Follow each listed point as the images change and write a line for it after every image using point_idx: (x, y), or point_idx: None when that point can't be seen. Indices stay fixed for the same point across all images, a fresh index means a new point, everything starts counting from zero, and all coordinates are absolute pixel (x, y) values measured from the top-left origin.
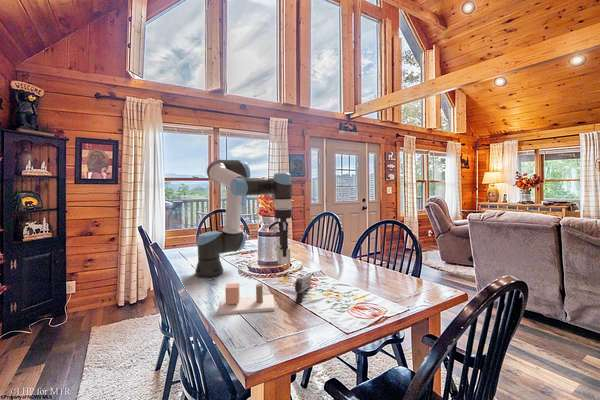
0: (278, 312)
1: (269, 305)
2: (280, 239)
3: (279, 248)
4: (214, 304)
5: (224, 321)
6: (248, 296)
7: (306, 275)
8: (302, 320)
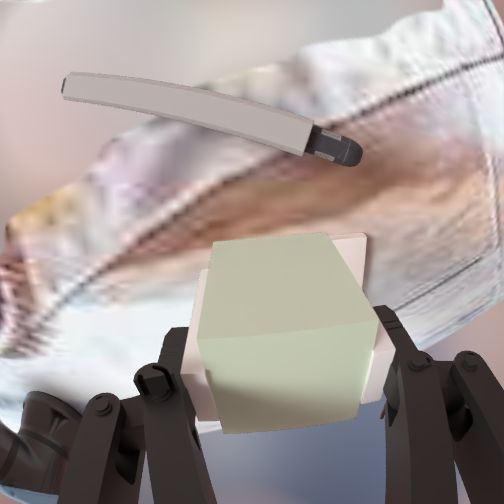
0: (380, 219)
1: (344, 256)
2: (212, 490)
3: (324, 415)
4: None
5: None
6: None
7: (110, 91)
8: (445, 145)
